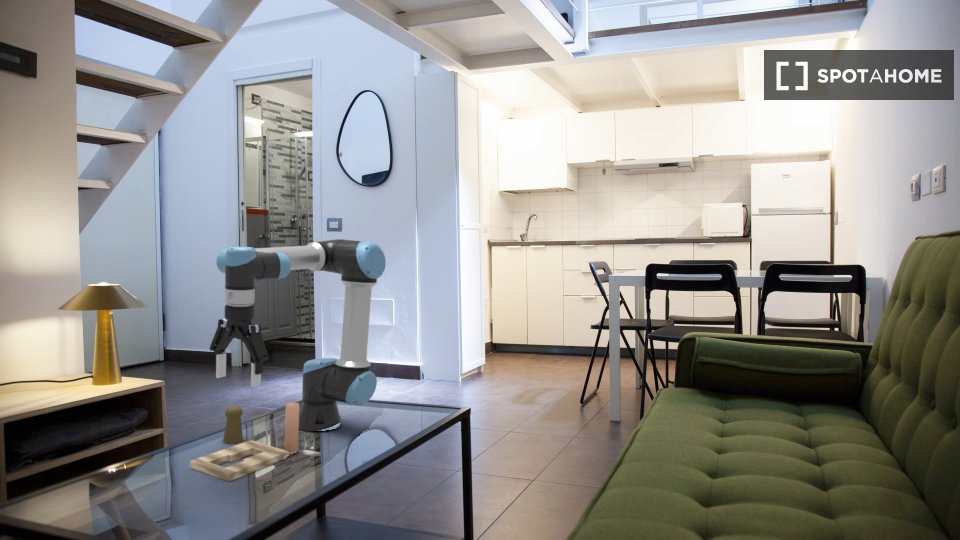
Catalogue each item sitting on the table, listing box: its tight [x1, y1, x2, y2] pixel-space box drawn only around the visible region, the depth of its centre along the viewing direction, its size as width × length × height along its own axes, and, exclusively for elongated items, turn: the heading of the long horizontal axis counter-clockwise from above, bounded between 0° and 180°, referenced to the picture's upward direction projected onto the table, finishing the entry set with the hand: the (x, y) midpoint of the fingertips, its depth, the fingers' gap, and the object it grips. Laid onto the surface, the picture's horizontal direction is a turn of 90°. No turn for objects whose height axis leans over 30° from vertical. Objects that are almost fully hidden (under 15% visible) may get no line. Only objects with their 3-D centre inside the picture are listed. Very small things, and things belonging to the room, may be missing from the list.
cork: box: [222, 405, 244, 445], centre depth 216 cm, size 6×6×11 cm
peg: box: [283, 402, 300, 453], centre depth 209 cm, size 4×4×15 cm
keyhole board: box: [189, 439, 290, 482], centre depth 199 cm, size 22×16×2 cm
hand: (238, 381), depth 186 cm, fingers open, 13 cm apart
